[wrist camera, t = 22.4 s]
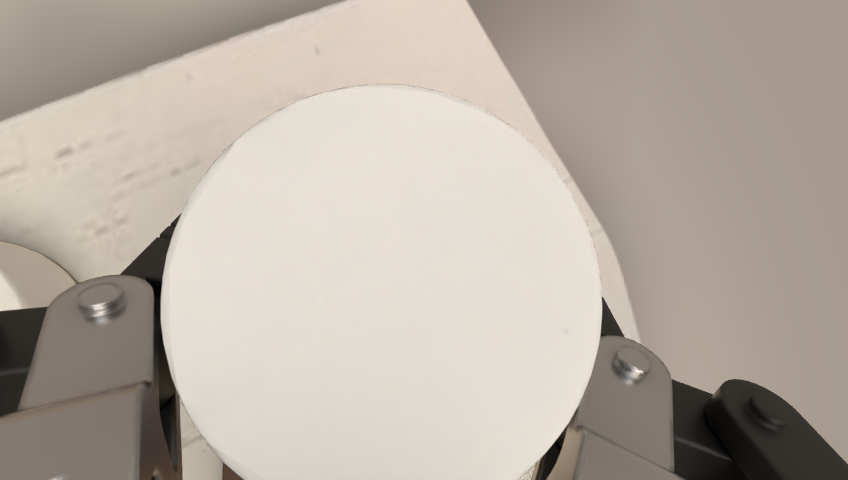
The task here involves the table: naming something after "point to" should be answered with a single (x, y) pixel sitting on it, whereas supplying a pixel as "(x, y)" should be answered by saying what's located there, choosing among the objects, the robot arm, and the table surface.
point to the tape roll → (29, 278)
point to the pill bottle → (381, 294)
